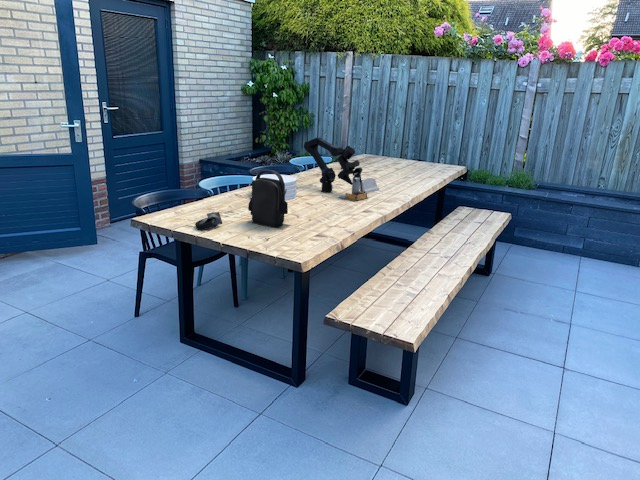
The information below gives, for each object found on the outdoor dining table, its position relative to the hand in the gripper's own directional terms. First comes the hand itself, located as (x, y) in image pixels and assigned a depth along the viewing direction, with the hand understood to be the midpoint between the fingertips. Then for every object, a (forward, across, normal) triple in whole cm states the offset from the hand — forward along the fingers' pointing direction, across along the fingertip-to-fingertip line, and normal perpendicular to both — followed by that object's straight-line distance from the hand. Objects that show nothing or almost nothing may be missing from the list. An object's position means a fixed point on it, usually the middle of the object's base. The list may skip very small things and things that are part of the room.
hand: (356, 183), depth 306 cm
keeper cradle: (+6, 0, +8) cm, 10 cm away
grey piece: (+6, 0, +7) cm, 9 cm away
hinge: (0, +25, +14) cm, 28 cm away
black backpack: (+13, -79, +1) cm, 80 cm away
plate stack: (-19, -36, +34) cm, 53 cm away
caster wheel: (+3, -107, +11) cm, 108 cm away
